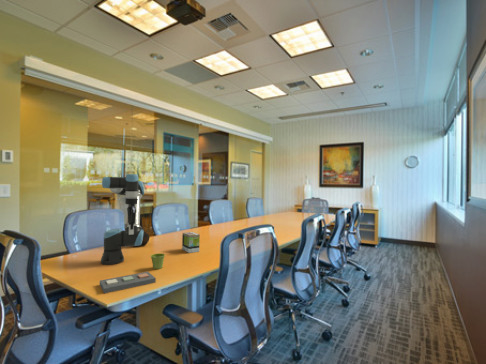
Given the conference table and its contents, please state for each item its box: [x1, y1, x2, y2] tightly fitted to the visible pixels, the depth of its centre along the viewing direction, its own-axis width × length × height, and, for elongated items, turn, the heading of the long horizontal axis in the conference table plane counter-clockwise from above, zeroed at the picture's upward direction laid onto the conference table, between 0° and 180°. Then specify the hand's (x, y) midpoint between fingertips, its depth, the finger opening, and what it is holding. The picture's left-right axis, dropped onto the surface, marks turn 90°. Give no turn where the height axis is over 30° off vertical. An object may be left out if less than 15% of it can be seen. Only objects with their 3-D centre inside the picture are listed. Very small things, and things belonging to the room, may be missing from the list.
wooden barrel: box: [138, 214, 150, 247], centre depth 245 cm, size 18×18×28 cm
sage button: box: [122, 276, 134, 282], centre depth 154 cm, size 5×5×2 cm
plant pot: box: [150, 253, 166, 270], centre depth 183 cm, size 9×9×9 cm
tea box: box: [181, 231, 201, 254], centre depth 230 cm, size 15×10×15 cm
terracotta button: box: [138, 273, 149, 279], centre depth 159 cm, size 5×5×2 cm
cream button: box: [106, 279, 118, 285], centre depth 149 cm, size 5×5×2 cm
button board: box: [99, 271, 157, 294], centre depth 154 cm, size 14×27×2 cm, turn 127°
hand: (131, 234), depth 174 cm, fingers closed
